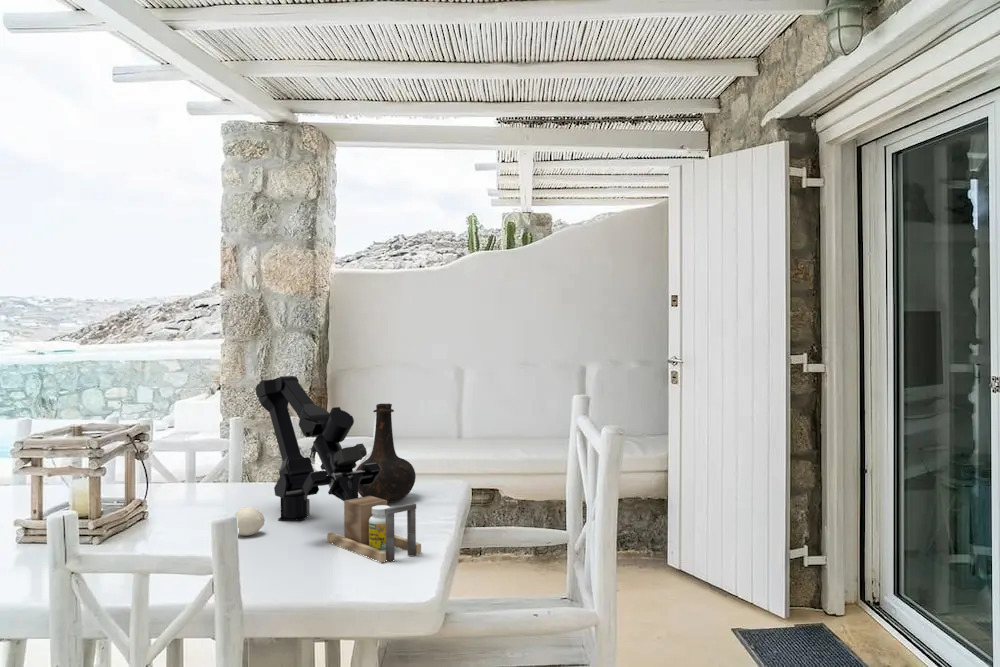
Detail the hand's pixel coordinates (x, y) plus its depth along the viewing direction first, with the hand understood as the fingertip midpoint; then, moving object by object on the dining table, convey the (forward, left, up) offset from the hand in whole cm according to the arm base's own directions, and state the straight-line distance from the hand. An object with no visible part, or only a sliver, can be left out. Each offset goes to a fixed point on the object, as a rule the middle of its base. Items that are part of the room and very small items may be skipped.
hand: (356, 507), depth 169 cm
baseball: (-28, +6, -8) cm, 29 cm away
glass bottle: (-2, +43, -8) cm, 43 cm away
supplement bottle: (+7, -7, -8) cm, 13 cm away
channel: (+5, -5, -8) cm, 10 cm away
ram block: (+3, -3, -8) cm, 9 cm away
